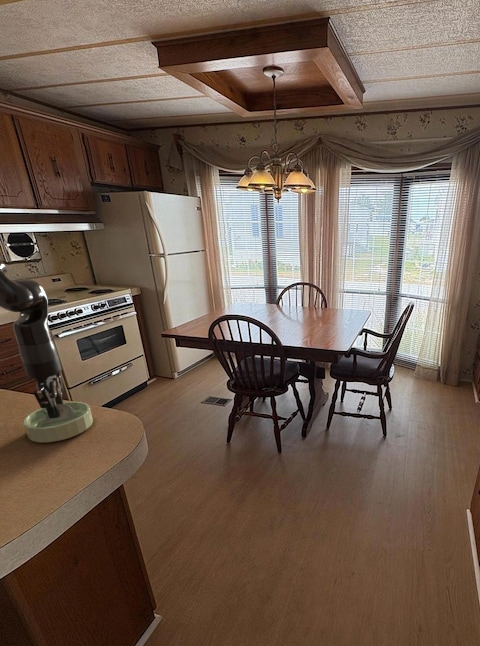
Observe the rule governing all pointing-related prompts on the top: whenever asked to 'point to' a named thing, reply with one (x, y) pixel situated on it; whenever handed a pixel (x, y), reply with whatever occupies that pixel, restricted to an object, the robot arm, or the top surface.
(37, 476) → the top surface
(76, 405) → the bowl
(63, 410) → the crumpled paper
